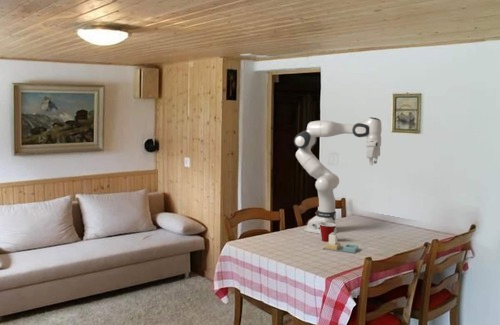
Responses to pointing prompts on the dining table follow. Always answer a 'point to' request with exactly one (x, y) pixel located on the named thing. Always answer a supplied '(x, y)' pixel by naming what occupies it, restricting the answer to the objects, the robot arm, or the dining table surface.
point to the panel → (342, 248)
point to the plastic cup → (326, 230)
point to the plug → (333, 239)
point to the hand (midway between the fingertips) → (373, 164)
